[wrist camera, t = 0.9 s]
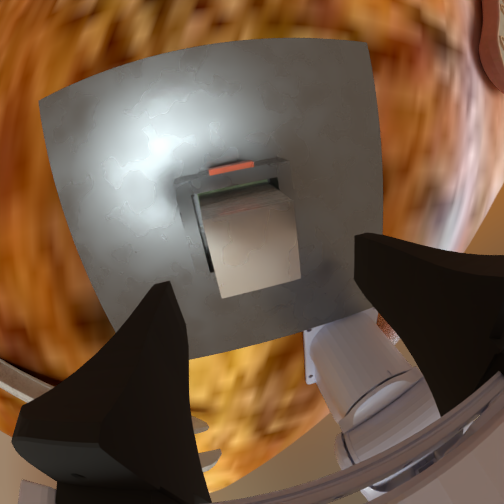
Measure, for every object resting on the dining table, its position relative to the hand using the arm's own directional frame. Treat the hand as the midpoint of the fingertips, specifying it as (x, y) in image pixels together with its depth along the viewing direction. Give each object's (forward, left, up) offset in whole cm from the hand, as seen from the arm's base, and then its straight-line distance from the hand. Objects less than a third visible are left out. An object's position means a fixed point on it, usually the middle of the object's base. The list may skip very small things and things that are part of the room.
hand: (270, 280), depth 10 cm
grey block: (0, 0, -8) cm, 8 cm away
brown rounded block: (+19, -35, -10) cm, 41 cm away
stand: (0, 0, -10) cm, 10 cm away
